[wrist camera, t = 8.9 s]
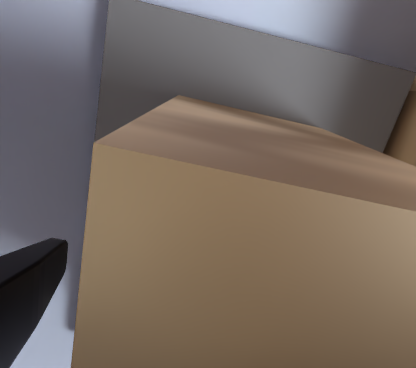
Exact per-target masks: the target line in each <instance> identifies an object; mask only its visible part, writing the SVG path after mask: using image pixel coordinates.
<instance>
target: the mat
mask: <svg viewBox="0 0 416 368" xmlns="http://www.w3.org/2000/svg"><path fill="white" fill-rule="evenodd" d="M415 75H416V72H412V71H408V70H404V69H400V68H397V67H393V66H389V65H385V64H381V63H377V62H373V61H369V60H366V59H362V58H358V57H354V56H350V55H346V54H342V53H339V52H335V51H331V50H327V49H323V48H319V47H315V46H312V45H308V44H304V43H300V42H296V41H292V40H288V39H285V38H281V37H277V36H273V35H269V34H265V33H261V32H257V31H254V30H250V29H246V28H242V27H238V26H234V25H230V24H227V23H223V22H219V21H215V20H211V19H207V18H203V17H200V16H196V15H192V14H188V13H184V12H180V11H176V10H173V9H169V8H165V7H161V6H157V5H153V4H149V3H145V2H142V1H138V0H109V4H108V13H107V23H106V33H105V43H104V52H103V62H102V72H101V81H100V91H99V101H98V110H97V120H96V130H95V139H94V142H96V141H97V140H99V139H101V138H103V137H105V136H106V135H108V134H110V133H112V132H113V131H115V130H117V129H119V128H121V127H122V126H124V125H126V124H128V123H130V122H131V121H133V120H135V119H137V118H138V117H140V116H142V115H144V114H146V113H147V112H149V111H151V110H153V109H155V108H156V107H158V106H160V105H162V104H163V103H165V102H167V101H169V100H171V99H172V98H174V97H176V96H178V95H181V96H185V97H189V98H193V99H198V100H202V101H206V102H211V103H215V104H219V105H224V106H228V107H232V108H237V109H241V110H245V111H249V112H254V113H258V114H262V115H267V116H271V117H275V118H280V119H284V120H288V121H293V122H297V123H301V124H305V125H310V126H314V127H318V128H322V129H324V130H327V131H329V132H332V133H334V134H337V135H339V136H342V137H344V138H347V139H349V140H351V141H354V142H356V143H359V144H361V145H364V146H366V147H369V148H371V149H374V150H376V151H378V152H381V153H383V150H384V148H385V146H386V143H387V141H388V139H389V136H390V134H391V132H392V129H393V127H394V124H395V122H396V120H397V117H398V115H399V113H400V110H401V108H402V106H403V103H404V101H405V99H406V96H407V94H408V92H409V89H410V87H411V85H412V82H413V80H414V78H415Z"/></svg>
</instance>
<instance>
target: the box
mask: <svg viewBox="0 0 416 368" xmlns="http://www.w3.org/2000/svg"><path fill="white" fill-rule="evenodd" d="M71 368H416V167H415V166H413V165H410V164H408V163H406V162H403V161H401V160H398V159H396V158H393V157H391V156H388V155H386V154H383V153H381V152H378V151H376V150H374V149H371V148H369V147H366V146H364V145H361V144H359V143H356V142H354V141H351V140H349V139H347V138H344V137H342V136H339V135H337V134H334V133H332V132H329V131H327V130H324V129H322V128H318V127H314V126H310V125H305V124H301V123H297V122H293V121H288V120H284V119H280V118H275V117H271V116H267V115H262V114H258V113H254V112H249V111H245V110H241V109H237V108H232V107H228V106H224V105H219V104H215V103H211V102H206V101H202V100H198V99H193V98H189V97H185V96H181V95H178V96H176V97H174V98H172V99H171V100H169V101H167V102H165V103H163V104H162V105H160V106H158V107H156V108H155V109H153V110H151V111H149V112H147V113H146V114H144V115H142V116H140V117H138V118H137V119H135V120H133V121H131V122H130V123H128V124H126V125H124V126H122V127H121V128H119V129H117V130H115V131H113V132H112V133H110V134H108V135H106V136H105V137H103V138H101V139H99V140H97V141H96V142H94V143H93V152H92V162H91V172H90V182H89V192H88V202H87V212H86V222H85V232H84V242H83V252H82V262H81V272H80V282H79V292H78V302H77V312H76V322H75V332H74V342H73V352H72V362H71Z"/></svg>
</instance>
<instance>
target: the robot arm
mask: <svg viewBox="0 0 416 368" xmlns="http://www.w3.org/2000/svg"><path fill="white" fill-rule="evenodd" d="M67 251H68V243H67V241H66V240H62V239H57V238H49V239H47V240H44V241H41V242H38V243H36V244H33V245H30V246H27V247H25V248H22V249H19V250H16V251H14V252H11V253H8V254H5V255H3V256H0V368H10V366H11V365H12V363H13V362H14V360H15V359H16V357H17V355H18V354H19V352H20V351H21V349H22V348H23V346H24V345H25V343H26V342H27V340H28V339H29V337H30V336H31V334H32V333H33V331H34V330H35V328H36V326H37V325H38V323H39V321H40V319H41V317H42V316H43V314H44V312H45V310H46V308H47V306H48V304H49V302H50V300H51V298H52V296H53V294H54V292H55V290H56V288H57V287H58V285H59V283H60V281H61V279H62V277H63V275H64V272H65V269H66V263H67Z"/></svg>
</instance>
